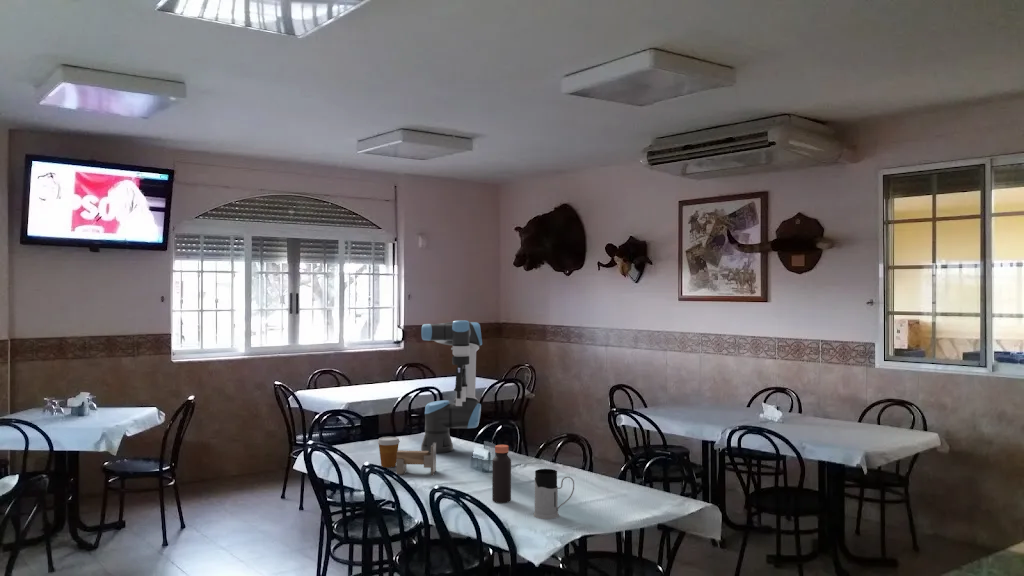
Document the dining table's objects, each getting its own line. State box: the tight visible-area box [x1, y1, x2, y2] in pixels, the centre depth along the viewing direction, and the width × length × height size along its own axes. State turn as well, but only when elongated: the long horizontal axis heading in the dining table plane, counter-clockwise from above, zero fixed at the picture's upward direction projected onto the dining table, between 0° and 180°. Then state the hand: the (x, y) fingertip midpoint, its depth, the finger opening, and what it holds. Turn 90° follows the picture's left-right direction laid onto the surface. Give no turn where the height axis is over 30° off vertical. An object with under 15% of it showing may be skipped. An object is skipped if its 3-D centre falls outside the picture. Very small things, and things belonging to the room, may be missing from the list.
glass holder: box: [532, 468, 575, 520], centre depth 266 cm, size 9×14×15 cm, turn 73°
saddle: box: [395, 459, 408, 476], centre depth 329 cm, size 7×3×6 cm, turn 177°
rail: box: [397, 449, 429, 466], centre depth 328 cm, size 4×13×5 cm, turn 86°
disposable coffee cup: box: [377, 436, 400, 468], centre depth 341 cm, size 10×10×12 cm
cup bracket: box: [423, 443, 437, 476], centre depth 328 cm, size 8×4×12 cm, turn 177°
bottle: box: [491, 444, 512, 504], centre depth 285 cm, size 7×7×20 cm
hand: (460, 403), depth 344 cm, fingers open, 13 cm apart
